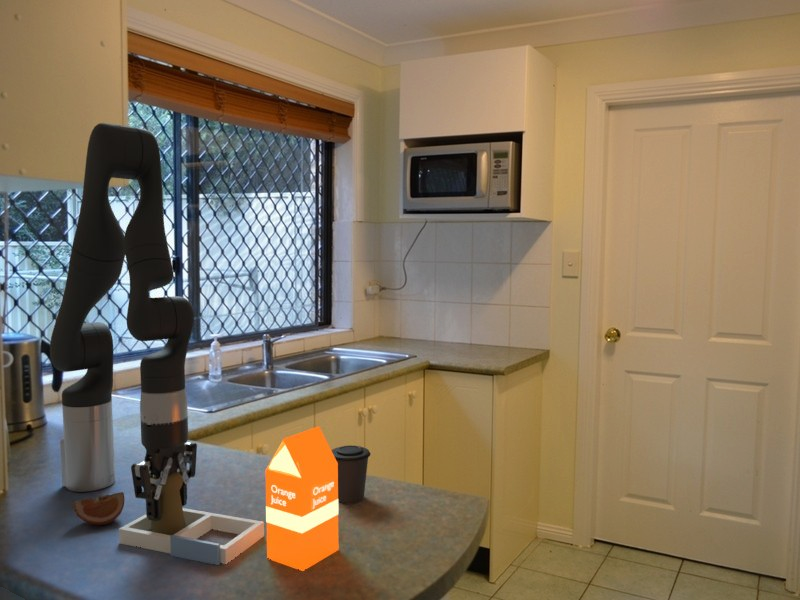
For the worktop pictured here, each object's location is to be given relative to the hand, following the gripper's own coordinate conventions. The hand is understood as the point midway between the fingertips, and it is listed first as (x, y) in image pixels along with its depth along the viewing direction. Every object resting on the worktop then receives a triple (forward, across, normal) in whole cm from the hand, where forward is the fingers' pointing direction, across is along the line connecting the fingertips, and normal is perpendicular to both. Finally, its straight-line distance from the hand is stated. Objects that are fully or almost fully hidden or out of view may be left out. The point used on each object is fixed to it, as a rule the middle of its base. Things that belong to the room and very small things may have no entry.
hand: (167, 511), depth 118 cm
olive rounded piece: (+4, 0, 0) cm, 4 cm away
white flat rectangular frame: (+4, 0, +5) cm, 6 cm away
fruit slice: (+4, 0, -15) cm, 16 cm away
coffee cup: (+4, -26, +22) cm, 34 cm away
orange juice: (+4, -2, +25) cm, 25 cm away
